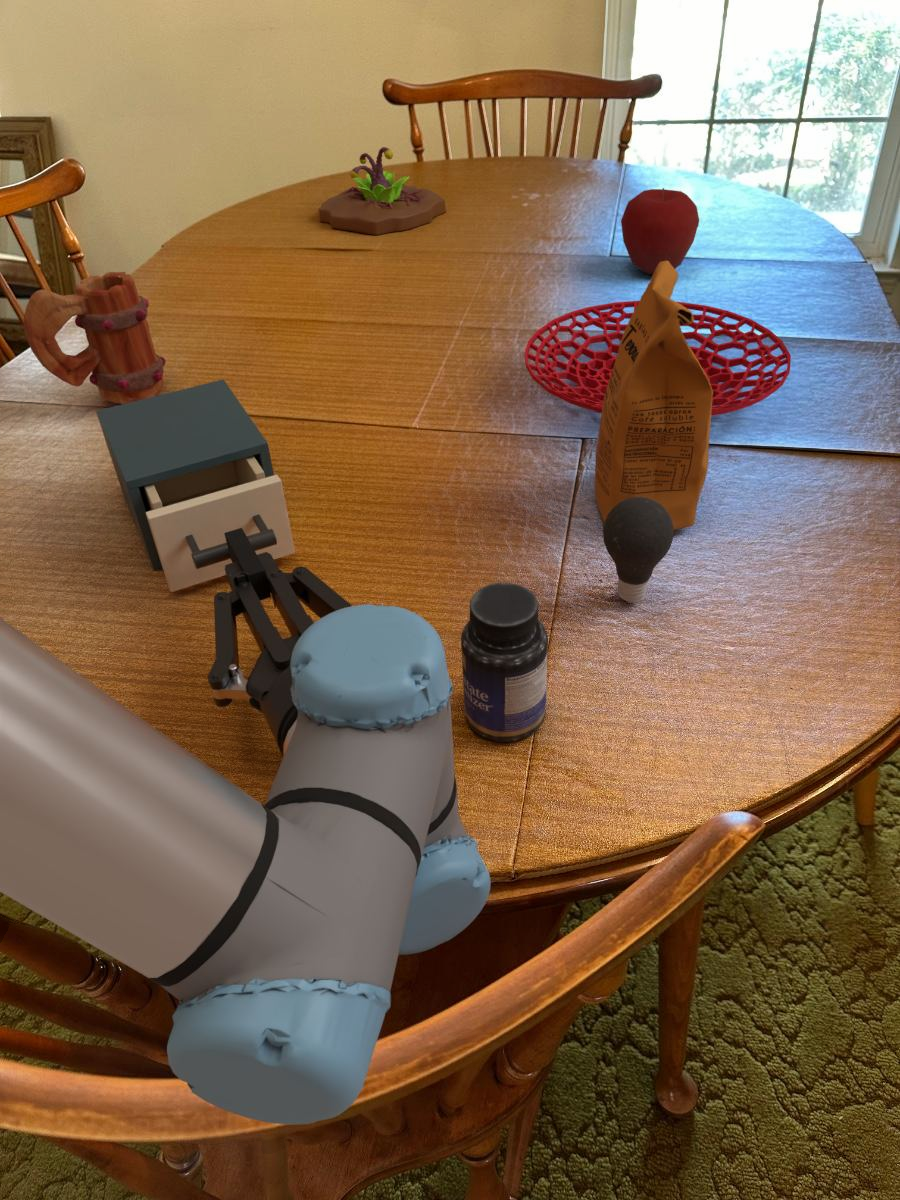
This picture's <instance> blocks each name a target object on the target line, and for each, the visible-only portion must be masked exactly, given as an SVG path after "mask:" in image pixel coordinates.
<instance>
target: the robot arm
mask: <svg viewBox="0 0 900 1200" xmlns="http://www.w3.org/2000/svg"><path fill="white" fill-rule="evenodd" d="M224 534H225V538H226V542H227V546H228V550H229V554H230V558H231V561H232V563H230V564H227V565H225V572H226V575H225V576H226V580H227V583H228V585H229V587H230V591H220V592H217V593H216V594H215V595H213V613H214V642H215V659H214V662H213V664H212V666H211V669H210V671H209V672H208V674H207V681H208V684H209V687H210V691H211V694H212V697H213V700H214V701H213V702H214V704H215V706H217V707H218V708H225V707H228V706H229V705H231V704H232V702H233V700H247V701H248V703H249V705H250V706H251V707H252V708H253V709H255V710H257V711H258V712H260V713H261V714H262V715H263V717H264V719H265V722H266V723H267V725H268V728H269V730H270V732H271V734H272V736H273V738H274V741H275V743H276V746H277V748H278V750H279V751H280V753H281V755H282V757H283V758H282V759H281V762H280V765H279V766H278V769H277V771H276V775H275V777H274V780H273V782H272V785H271V787H270V789H269V792H268V794H267V797H266V800H265V801H264V804H262V803H261V802H260V801H258V800H257V799H256V798H254V797H253V796H251V795H250V794H248V793H247V792H245V791H244V790H243V789H242V788H240V787H239V786H237V785H236V784H235V783H233V782H232V781H230V780H229V779H227V778H226V777H225V776H223V775H222V774H220V773H219V772H218V771H216V770H215V769H214V768H212V767H211V766H209V765H208V764H206V763H205V762H203V761H202V760H201V759H200V758H198V757H196V756H195V755H194V754H192V753H191V752H190V751H188V750H187V749H185V748H184V747H183V746H181V745H180V744H179V743H177V742H176V741H174V740H173V739H171V738H170V737H168V736H167V735H166V734H164V733H163V732H161V731H160V730H158V728H156V727H155V726H153V725H151V723H149V722H147V721H146V720H145V719H143V718H142V717H140V716H139V715H137V714H136V713H135V712H133V711H132V710H131V709H129V708H128V707H126V706H125V705H124V704H122V703H121V702H119V701H118V700H117V699H115V698H114V697H112V696H111V695H110V694H108V693H106V692H105V691H104V690H103V689H101V688H99V686H97V685H96V684H94V683H93V682H92V681H90V680H88V679H87V678H86V677H84V676H83V675H82V674H80V673H79V672H77V671H76V670H74V669H73V668H71V667H70V666H69V665H68V664H66V663H64V662H63V661H62V660H60V659H59V658H58V657H56V656H55V655H53V654H52V653H51V652H49V651H47V649H45V648H43V647H42V646H41V645H39V644H38V643H37V642H35V641H34V640H32V639H31V638H30V637H28V636H27V635H25V634H24V633H22V632H21V631H19V630H18V629H17V628H16V627H14V626H12V625H11V624H10V623H9V622H7V621H5V620H4V619H3V618H1V617H0V893H1V894H3V895H5V896H6V897H9V898H10V899H12V900H13V901H15V902H17V903H18V904H20V905H22V906H24V907H25V908H27V909H29V910H31V911H32V912H34V913H36V914H37V915H40V916H41V917H43V918H44V919H46V920H47V921H50V922H52V923H53V924H54V925H57V926H58V927H60V928H62V929H63V930H65V931H67V932H68V933H71V934H72V935H74V936H76V937H77V938H79V939H80V940H83V941H84V942H86V943H88V944H89V945H91V946H92V947H94V948H95V949H98V950H99V951H101V952H103V953H104V954H107V955H108V956H110V957H112V958H114V959H115V960H117V961H118V962H119V963H122V964H123V965H125V966H127V967H128V968H131V969H132V970H134V971H135V972H137V973H139V974H141V975H142V976H143V977H144V978H146V979H147V980H149V981H150V982H152V983H155V984H157V985H159V986H160V987H161V988H163V989H164V990H165V991H166V992H168V993H169V994H170V995H172V996H173V997H174V998H176V999H177V1000H178V1001H179V1002H178V1005H177V1007H176V1009H175V1011H174V1013H173V1014H172V1016H171V1018H172V1021H173V1022H172V1023H173V1026H172V1029H171V1032H170V1034H169V1038H168V1041H167V1044H166V1054H167V1063H168V1065H169V1067H170V1069H171V1071H172V1073H173V1074H174V1075H175V1076H176V1077H177V1078H178V1079H179V1080H180V1081H182V1082H185V1083H186V1085H187V1086H188V1088H189V1089H190V1091H191V1093H192V1094H194V1095H195V1096H197V1097H198V1098H200V1099H201V1100H203V1101H205V1102H206V1103H208V1104H210V1105H212V1106H214V1107H217V1108H218V1109H221V1110H223V1111H225V1112H228V1113H231V1114H234V1115H237V1116H240V1117H244V1118H246V1119H249V1120H250V1119H251V1120H255V1121H259V1122H263V1123H269V1124H278V1125H289V1126H290V1125H291V1126H297V1125H298V1126H299V1125H311V1124H314V1123H316V1122H320V1121H325V1120H330V1119H334V1118H336V1117H337V1116H340V1115H341V1114H343V1113H344V1112H346V1111H347V1110H348V1109H349V1108H350V1107H352V1105H353V1104H354V1103H355V1102H356V1100H358V1097H359V1095H360V1094H361V1092H362V1089H363V1087H364V1085H365V1081H366V1078H367V1076H368V1071H369V1067H370V1064H371V1061H372V1058H373V1055H374V1051H375V1049H376V1045H377V1043H378V1039H379V1036H380V1033H381V1029H382V1027H383V1023H384V1020H385V1016H386V1014H387V1013H388V1012H389V1010H390V1008H391V1003H392V994H391V989H392V985H393V982H394V976H395V973H396V968H397V963H398V958H399V956H400V955H402V956H404V955H405V956H406V955H413V954H419V953H423V952H427V951H429V950H431V949H434V948H436V947H438V946H439V945H441V944H444V943H446V942H449V941H450V940H452V939H454V938H455V937H456V936H457V935H459V934H460V933H461V932H463V931H464V930H465V929H466V928H468V926H469V925H471V923H472V922H474V921H475V919H476V918H477V917H478V916H479V914H480V913H481V912H482V910H483V908H484V907H485V905H486V904H487V901H488V899H489V896H490V892H491V886H492V885H491V884H492V883H491V881H492V880H491V876H490V872H489V870H488V868H487V865H486V864H485V862H484V859H483V857H482V855H481V853H480V852H479V850H478V846H479V844H478V842H477V840H476V839H475V838H473V836H470V835H469V833H468V831H467V830H466V829H465V826H464V825H463V822H462V819H461V817H460V812H459V798H458V785H457V780H456V772H455V756H454V755H455V754H454V739H453V736H454V735H453V720H452V719H453V717H452V703H451V702H452V700H451V696H452V694H453V691H454V683H453V682H452V681H451V677H450V675H449V670H448V664H447V658H446V651H445V647H444V643H443V641H442V638H441V637H440V635H439V633H438V631H437V630H436V629H435V627H433V625H431V624H430V623H429V622H428V620H426V619H425V618H424V617H423V616H421V615H419V614H418V613H416V612H413V611H412V610H409V609H407V608H403V607H401V606H395V605H384V604H380V605H374V604H372V603H364V604H363V603H362V604H356V605H352V604H351V603H349V602H348V601H347V600H346V599H345V598H344V597H343V596H342V595H340V594H339V593H338V592H336V591H335V590H334V589H332V588H331V587H330V586H329V585H328V584H326V582H324V580H322V579H320V577H318V576H317V575H316V574H315V573H313V572H312V571H311V570H310V569H308V568H307V567H305V566H298V567H295V568H293V569H292V571H291V572H283V570H282V569H280V568H279V566H278V564H277V562H276V561H275V560H274V559H273V557H272V555H271V554H269V553H268V552H264V553H261V554H258V555H257V554H256V552H255V551H254V549H253V547H252V545H251V543H250V542H249V540H248V538H247V536H246V534H245V533H244V531H243V529H242V528H239V529H236V530H233V531H229V532H226V533H224ZM270 598H272V602H273V607H274V608H277V611H278V613H279V614H280V616H281V618H282V620H283V622H284V624H285V625H286V627H287V629H288V631H289V633H290V635H291V636H289V637H284V638H282V636H281V634H280V632H279V630H278V628H277V627H276V626H274V624H273V622H272V620H271V619H270V617H269V615H268V613H267V611H266V609H265V607H264V605H263V603H262V601H263V600H267V599H270ZM302 604H303V605H305V606H306V607H307V608H308V609H309V610H310V611H312V612H313V613H314V614H315V615H316V616H317V617H319V619H318V620H316V621H314V620H313V618H312V617H311V615H310V614H308V613H307V611H306V610H305V607H304V606H303V605H302ZM241 614H242V616H243V618H244V620H245V623H247V626H248V628H249V631H250V632H251V635H252V636H253V638H254V640H255V643H257V646H258V648H259V650H260V653H259V656H258V658H257V660H256V662H255V664H254V666H253V668H252V670H251V672H250V674H249V677H248V678H247V679H246V678H245V674H244V671H243V669H241V668H240V658H239V657H240V655H239V641H238V624H237V617H238V616H239V615H241Z"/></svg>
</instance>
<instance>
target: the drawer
mask: <svg viewBox="0 0 900 1200" xmlns="http://www.w3.org/2000/svg"><path fill="white" fill-rule="evenodd" d="M139 489H140V492H141V495H142V498H143V501H144V505H145V508H146V511H147V512H146V516H147V519H148V523H149V526H150V529H151V532H152V535H153V539H154V542H155V545H156V548H157V551H158V555H159V558H160V561H161V564H162V567H163V568H162V570H163V573H164V574H163V575H164V577H165V580H166V583H167V586H168V589H169V591H170V593H174V592H177V591H180V590H183V589H186V588H189V587H192V586H195V585H198V584H202V583H205V582H208V581H211V580H214V579H217V578H221V577H223V576H226V572H225V565H227V564H230V563H232V561H231V558H230V554H229V550H228V546H227V542H226V538H225V534H224V533H226V532H229V531H233V530H236V529H239V528H242V529H243V531H244V533H245V534H246V536H247V538H248V540H249V542H250V543H251V545H252V547H253V549H254V551H255V552H256V554H257V555H258V554H261V553H264V552H268V553H269V554H271V555H272V557H273V559H274V561H275V560H277V559H281V558H283V557H287V556H291V555H294V554H295V553H296V549H295V544H294V540H293V535H292V529H291V524H290V520H289V519H290V518H289V513H288V508H287V503H286V499H285V492H284V487H283V482H282V480H281V478H280V477H279V475H278V474H274V475H273V476H270V477H267V478H265V474H264V471H263V470H262V468H261V467H260V465H259V464H258V462H257V460H256V459H255V457H254V456H253V455H252V456H249V457H245V458H242V459H238V460H234V461H231V462H227V463H224V464H220V465H216V466H213V467H209V468H206V469H202V470H198V471H195V472H191V473H188V474H184V475H181V476H177V477H173V478H170V479H166V480H163V481H159V482H155V483H152V484H148V485H145V486H141V487H139Z"/></svg>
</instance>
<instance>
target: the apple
mask: <svg viewBox="0 0 900 1200" xmlns="http://www.w3.org/2000/svg"><path fill="white" fill-rule="evenodd" d="M620 224H621V233H622V240H623V241H622V242H623V245H624V246H625V249H626V251H627V254H628V256H629V259H630V261H631V263H632V265H634V266H635V267H637V268H638V269H639V270H641V271H642V272H644V273H645V274H648V275H653V274H654V272H655V269H656V267H657V265H658V264H659V263H660V262H663V261H669V263H670V264H671V265H672V266H673V268H674V269H675V270H676V269H677V268H678V267H679V266H681V265H682V263H683V262H684V259H685V258H686V256H687V254H688V253H689V251H690V249H691V247H692V245H693V243H694V242H695V238H696V235H697V231H698V227H699V224H700V217H699V212H698V207H697V205H696V203H695V202H694V201H693V200H692V199H691V198H690V196H689V195H688V194H687V193H684V192H683V191H681V190H674V189H665V188H664V187H662V189H661V188H651V189H646V190H643V191H641V192H639V193H638V194H637V195H635V196H634V197H633V198H632V199H630V200H628V201H627V204H626V206H625V209H624V211H623V213H622V216H621V220H620Z"/></svg>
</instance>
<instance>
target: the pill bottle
mask: <svg viewBox="0 0 900 1200" xmlns="http://www.w3.org/2000/svg"><path fill="white" fill-rule="evenodd" d="M539 617H540V616H539V602H538V597H537V596H536V595H535V593H534V592H533V591H532V590H530V589H529V588H527V587H525V586H523V585H520V584H518V583H514V582H495V583H490V584H488V585H485V586H483V587H481V588H479V589H478V590H477V591H475V593H473V595H472V597H471V599H470V602H469V620H468V621H467V622H466V624H465V625H464V627H463V629H462V632H461V637H460V643H461V644H460V646H461V665H462V687H463V705H464V708H463V709H464V716H465V719H466V722H467V724H468V726H469V727H470V729H471V730H473V731H474V732H475V733H476V734H477V735H479V736H481V737H482V738H484V739H488V740H492V741H494V742H497V743H514V742H518V741H522V740H524V739H526V738H528V737H530V736H532V735H533V734H535V733H536V732H537V731H538V730H539V729H540V727H541V726H542V725H543V722H544V721H545V718H546V715H547V681H548V651H549V637H548V632H547V630H546V627H545V625H544V624H543V622H542V621H541V620H540V619H539Z"/></svg>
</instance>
